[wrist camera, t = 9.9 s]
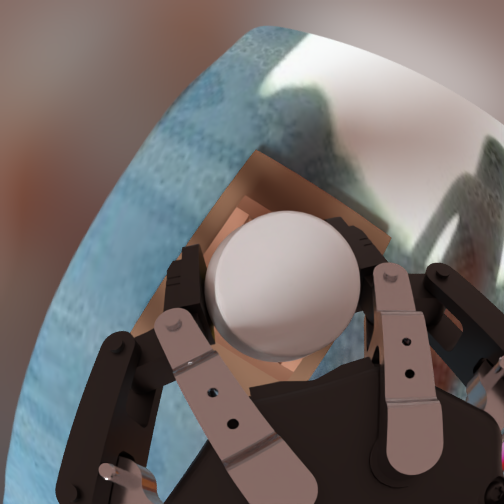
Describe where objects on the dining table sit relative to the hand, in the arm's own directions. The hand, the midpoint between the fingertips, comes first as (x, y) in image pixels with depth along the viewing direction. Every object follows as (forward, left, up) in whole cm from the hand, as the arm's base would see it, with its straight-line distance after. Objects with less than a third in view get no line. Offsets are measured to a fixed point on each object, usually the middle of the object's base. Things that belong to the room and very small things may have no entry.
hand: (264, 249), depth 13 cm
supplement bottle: (+1, +1, -5) cm, 5 cm away
